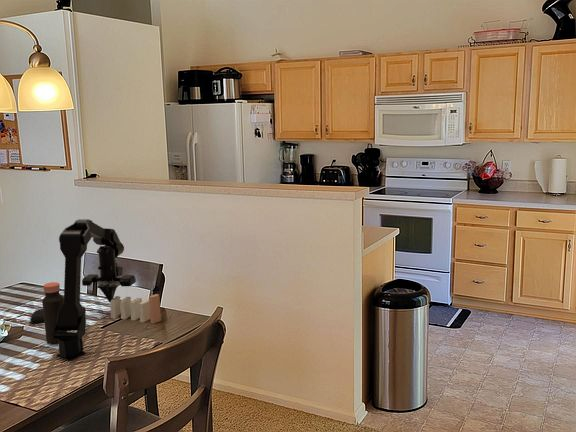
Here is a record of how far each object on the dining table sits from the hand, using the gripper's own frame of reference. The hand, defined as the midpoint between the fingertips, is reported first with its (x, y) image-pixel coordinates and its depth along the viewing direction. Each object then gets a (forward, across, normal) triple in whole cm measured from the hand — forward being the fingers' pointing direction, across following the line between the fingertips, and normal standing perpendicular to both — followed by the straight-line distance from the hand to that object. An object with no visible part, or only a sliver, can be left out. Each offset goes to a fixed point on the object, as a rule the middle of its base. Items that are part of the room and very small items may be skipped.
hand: (110, 302), depth 213 cm
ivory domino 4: (+6, -15, +3) cm, 16 cm away
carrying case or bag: (+6, +22, +4) cm, 23 cm away
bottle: (+6, +9, +23) cm, 26 cm away
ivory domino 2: (+6, -6, 0) cm, 8 cm away
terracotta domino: (+6, -19, +4) cm, 20 cm away
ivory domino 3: (+6, -10, +1) cm, 12 cm away
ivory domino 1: (+6, -2, 0) cm, 6 cm away
